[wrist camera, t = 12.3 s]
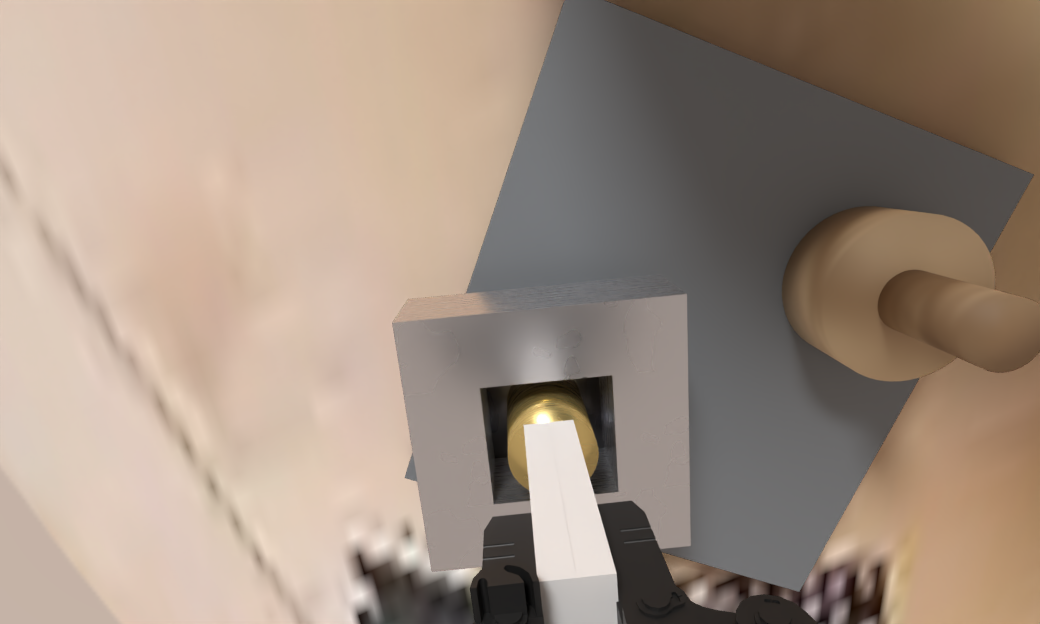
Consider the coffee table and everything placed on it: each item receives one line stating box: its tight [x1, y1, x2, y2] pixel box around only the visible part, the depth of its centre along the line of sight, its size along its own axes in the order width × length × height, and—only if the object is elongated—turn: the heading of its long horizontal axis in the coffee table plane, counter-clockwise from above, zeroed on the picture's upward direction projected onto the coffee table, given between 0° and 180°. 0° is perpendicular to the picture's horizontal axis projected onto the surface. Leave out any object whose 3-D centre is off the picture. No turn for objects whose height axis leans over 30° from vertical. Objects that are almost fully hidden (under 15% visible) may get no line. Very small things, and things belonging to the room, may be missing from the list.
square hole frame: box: [392, 275, 691, 572], centre depth 20 cm, size 9×9×3 cm
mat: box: [405, 0, 1034, 592], centre depth 23 cm, size 20×19×1 cm
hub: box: [487, 377, 603, 490], centre depth 20 cm, size 7×7×6 cm
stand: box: [782, 206, 1040, 381], centre depth 19 cm, size 6×6×7 cm
